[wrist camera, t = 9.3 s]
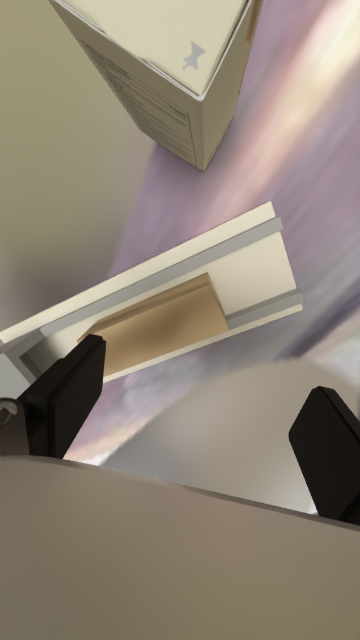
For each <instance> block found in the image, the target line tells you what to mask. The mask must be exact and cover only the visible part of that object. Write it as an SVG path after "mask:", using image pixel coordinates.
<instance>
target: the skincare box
mask: <svg viewBox="0 0 360 640" xmlns="http://www.w3.org/2000/svg"><path fill="white" fill-rule="evenodd" d="M49 2H50V3H51V5H52V6H53V7H54V9H55V10H56V12H57V13H58V15H59V16H60V17H61V19H62V20H63V22H64V23H65V24H66V26H67V27H68V29H69V30H70V31H71V33H72V34H73V36H74V37H75V38H76V40H77V41H78V43H79V44H80V45H81V47H82V48H83V50H84V51H85V53H86V54H87V55H88V57H89V58H90V60H91V61H92V63H93V64H94V65H95V67H96V68H97V70H98V71H99V73H100V74H101V75H102V77H103V78H104V79H105V81H106V82H107V84H108V85H109V87H110V88H111V89H112V91H113V92H114V93H115V95H116V96H117V98H118V99H119V101H120V102H121V104H122V105H123V106H124V108H125V109H126V111H127V112H128V113H129V115H130V116H131V118H132V119H133V121H134V122H135V123H136V125H137V126H138V128H139V129H140V130H141V131H142V132H144V133H145V134H146V135H148V136H149V137H150V138H152V139H153V140H155V141H156V142H158V143H159V144H160V145H162V146H163V147H165V148H166V149H168V150H169V151H171V152H172V153H174V154H176V155H177V156H179V157H180V158H182V159H183V160H185V161H186V162H188V163H190V164H191V165H193V166H195V167H196V168H198V169H199V170H201V171H205V169H206V168H207V166H208V164H209V162H210V161H211V159H212V157H213V155H214V153H215V152H216V150H217V148H218V146H219V144H220V142H221V141H222V139H223V137H224V135H225V133H226V131H227V129H228V127H229V125H230V123H231V121H232V118H233V116H234V112H235V108H236V104H237V100H238V96H239V93H240V89H241V85H242V81H243V77H244V73H245V69H246V66H247V62H248V58H249V54H250V50H251V47H252V43H253V39H254V35H255V31H256V27H257V23H258V19H259V15H260V11H261V7H262V3H263V0H49Z"/></svg>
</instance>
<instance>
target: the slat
mask: <svg viewBox="0 0 360 640" xmlns="http://www.w3.org/2000/svg"><path fill="white" fill-rule="evenodd" d="M226 331H229V329H228V325H227V321H226V317H225V314H224V310H223V308H222V305H221V303H220V300H219V298H218V296H217V293H216V291H215V289H214V286H213V284H212V281H211V279H210V277H209V274H208V272H206V273H204V274H201V275H199V276H197V277H194V278H192V279H190V280H188V281H185V282H183V283H181V284H179V285H176V286H174V287H172V288H169V289H167V290H165V291H163V292H160V293H158V294H156V295H154V296H151V297H149V298H147V299H144V300H142V301H140V302H138V303H135V304H133V305H131V306H129V307H126V308H124V309H122V310H119V311H117V312H115V313H113V314H110V315H108V316H106V317H104V318H101V319H99V320H97V321H96V322H95V323H94V324H93V325H92V326H91V327H90V328H89V329H88V330H87V331H86V332H85V333H84V334H83V335H82V336H81V337H80V338H79V339H78V340H77V341H76V342H77V343H78V344H79V343H80V342H81V341H82V340H83V339H84V338H85V337H86V336H87V335H88V334H94V335H99V336H102V337H103V340H106V354H105V364H104V375H103V377H104V376H107V375H110V374H113V373H115V372H118V371H121V370H123V369H126V368H129V367H131V366H134V365H137V364H140V363H142V362H145V361H148V360H150V359H153V358H156V357H159V356H161V355H164V354H167V353H169V352H172V351H175V350H177V349H180V348H183V347H186V346H188V345H191V344H194V343H196V342H199V341H202V340H204V339H207V338H210V337H213V336H215V335H218V334H221V333H223V332H226Z"/></svg>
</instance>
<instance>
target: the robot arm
mask: <svg viewBox="0 0 360 640" xmlns="http://www.w3.org/2000/svg"><path fill="white" fill-rule="evenodd" d="M105 354H106V340H103V337H102V336H99V335H94V334H88V335H87V336H86V337H85V338H84V339H83V340H82V341H81V342H80V343H79V344H78V345H77V346H76V347H74V348H73V349H72V350H71V351H70V352H69V353H68V354H67V355H66V356H65V357H64V358H60V359H58V360H57V361H56V362H55V363H54V364H53V365H52V366H50V367H49V368H48V369H47V370H46V371H45V372H44V373H43V374H42V375H41V376H40V377H39V378H38V379H37V380H36V381H35V382H34V383H33V384H31V385H30V386H29V387H28V388H27V389H26V390H25V391H24V392H23V393H22V394H21V395H20V396H19V397H18V398H17V399H13V398H6V397H2V398H0V640H360V422H359V420H358V419H357V418H356V417H355V415H354V414H353V413H352V411H351V410H350V409H349V408H348V406H347V405H346V404H345V403H344V401H343V400H342V399H341V398H340V396H339V395H338V394H337V393H336V391H335V390H334V389H331V388H326V387H322V386H318V387H317V388H314V389H312V390H311V392H310V394H309V396H308V398H307V399H306V401H305V403H304V405H303V407H302V409H301V411H300V413H299V414H298V416H297V418H296V420H295V422H294V423H293V425H292V427H291V429H290V431H289V441H290V443H291V446H292V448H293V451H294V453H295V456H296V458H297V461H298V463H299V466H300V468H301V471H302V474H303V476H304V478H305V481H306V484H307V486H308V489H309V491H310V494H311V496H312V499H313V501H314V504H315V506H316V509H317V511H318V514H319V516H316V515H312V514H307V513H303V512H299V511H295V510H290V509H286V508H282V507H278V506H273V505H269V504H264V503H260V502H256V501H252V500H247V499H243V498H239V497H235V496H230V495H226V494H221V493H217V492H213V491H208V490H204V489H199V488H195V487H191V486H186V485H182V484H177V483H173V482H168V481H164V480H159V479H155V478H151V477H146V476H142V475H137V474H133V473H128V472H123V471H119V470H114V469H110V468H105V467H100V466H95V465H90V464H85V463H81V462H76V461H71V460H65V459H63V457H64V455H65V454H66V452H67V450H68V449H69V447H70V445H71V444H72V442H73V440H74V439H75V437H76V435H77V433H78V432H79V430H80V428H81V427H82V425H83V423H84V422H85V420H86V418H87V417H88V415H89V413H90V412H91V410H92V408H93V407H94V405H95V403H96V402H97V400H98V398H99V396H100V394H101V391H102V386H103V375H104V364H105Z"/></svg>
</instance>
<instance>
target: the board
mask: <svg viewBox="0 0 360 640" xmlns="http://www.w3.org/2000/svg"><path fill="white" fill-rule="evenodd" d="M283 229H284V228H283V225H282V221H281V218H280V216H277V217H275V213H274V210H273V207H272V203H271V201H269V202H266V203H264V204H262V205H260V206H258V207H255V208H253V209H251V210H249V211H247V212H245V213H243V214H241V215H239V216H237V217H235V218H233V219H231V220H229V221H227V222H225V223H223V224H221V225H219V226H216V227H214V228H212V229H210V230H208V231H206V232H204V233H202V234H200V235H198V236H196V237H194V238H192V239H190V240H188V241H186V242H184V243H182V244H180V245H177V246H175V247H173V248H171V249H169V250H167V251H165V252H163V253H161V254H159V255H157V256H155V257H153V258H151V259H149V260H147V261H145V262H143V263H141V264H138V265H136V266H134V267H132V268H130V269H128V270H126V271H124V272H122V273H120V274H118V275H116V276H114V277H112V278H110V279H108V280H106V281H104V282H102V283H99V284H97V285H96V286H94V287H91V288H89V289H87V290H85V291H83V292H81V293H79V294H77V295H75V296H73V297H71V298H69V299H67V300H65V301H62V302H60V303H59V304H56V305H54V306H52V307H50V308H48V309H46V310H44V311H42V312H40V313H38V314H36V315H34V316H32V317H30V318H28V319H26V320H23V321H21V322H19V323H17V324H15V325H13V326H11V327H9V328H7V329H5V330H4V331H1V332H0V339H1V340H2V341H3V343H4V345H2V346H1V347H0V398H2V397H6V398H13V399H17V398H18V397H19V396H20V395H21V394H22V393H23V392H24V391H25V390H26V389H27V388H28V387H29V386H30V385H31V384H33V383H34V382H35V381H36V380H37V379H38V378H39V377H40V376H41V375H42V374H43V373H44V372H45V371H46V370H47V369H48V368H49V367H50V366H52V365H53V364H54V363H55V362H56V361H57V360H58V359H60V358H64V357H65V356H66V355H67V354H68V353H69V352H70V351H71V350H72V349H73V348H74V347H76V346H77V345H78V343H77V342H76V341H77V340H78V339H79V338H80V337H81V336H82V335H83V334H84V333H85V332H86V331H87V330H88V329H89V328H90V327H91V326H92V325H93V324H94V323H95V322H96V321H97V320H99V319H101V318H104V317H106V316H108V315H110V314H113V313H115V312H117V311H119V310H122V309H124V308H126V307H129V306H131V305H133V304H135V303H138V302H140V301H142V300H144V299H147V298H149V297H151V296H154V295H156V294H158V293H160V292H163V291H165V290H167V289H169V288H172V287H174V286H176V285H179V284H181V283H183V282H185V281H188V280H190V279H192V278H194V277H197V276H199V275H201V274H204V273H206V272H208V274H209V277H210V279H211V281H212V284H213V286H214V289H215V291H216V293H217V296H218V298H219V300H220V303H221V305H222V308H223V310H224V314H225V317H226V321H227V325H228V329H229V331H226V332H223V333H221V334H218V335H215V336H213V337H210V338H207V339H204V340H202V341H199V342H196V343H194V344H191V345H188V346H186V347H183V348H180V349H177V350H175V351H172V352H169V353H167V354H164V355H161V356H159V357H156V358H153V359H150V360H148V361H145V362H142V363H140V364H137V365H134V366H131V367H129V368H126V369H123V370H121V371H118V372H115V373H113V374H110V375H107V376H104V377H103V383H105V382H107V381H110V380H113V379H115V378H118V377H121V376H124V375H126V374H129V373H132V372H135V371H137V370H140V369H143V368H145V367H148V366H151V365H154V364H156V363H159V362H162V361H165V360H167V359H170V358H173V357H175V356H178V355H181V354H184V353H186V352H189V351H192V350H195V349H197V348H200V347H203V346H205V345H208V344H211V343H214V342H216V341H219V340H222V339H225V338H227V337H230V336H233V335H235V334H238V333H241V332H244V331H246V330H249V329H252V328H255V327H257V326H260V325H263V324H265V323H268V322H271V321H274V320H276V319H279V318H282V317H285V316H287V315H290V314H293V313H295V312H298V311H301V310H303V308H302V305H301V303H304V302H305V300H304V297H303V294H302V292H301V291H300V290H299V289H297V288H296V284H295V281H294V278H293V274H292V271H291V267H290V264H289V261H288V257H287V254H286V251H285V247H284V244H283V240H282V237H281V234H280V231H281V230H283Z"/></svg>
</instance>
